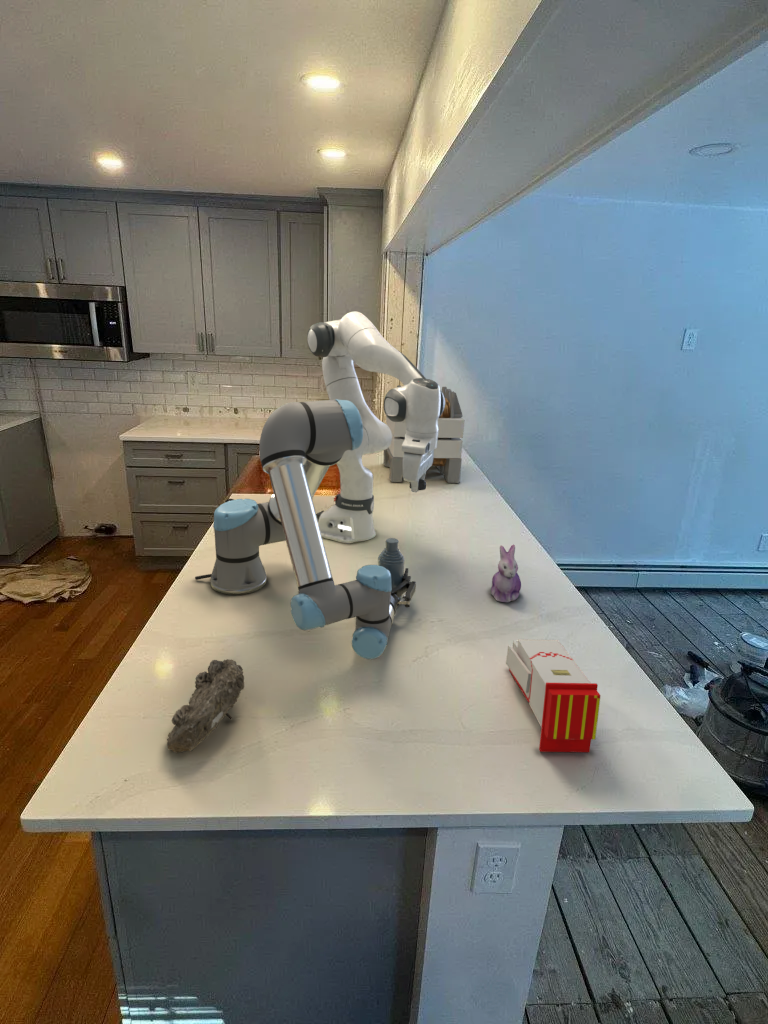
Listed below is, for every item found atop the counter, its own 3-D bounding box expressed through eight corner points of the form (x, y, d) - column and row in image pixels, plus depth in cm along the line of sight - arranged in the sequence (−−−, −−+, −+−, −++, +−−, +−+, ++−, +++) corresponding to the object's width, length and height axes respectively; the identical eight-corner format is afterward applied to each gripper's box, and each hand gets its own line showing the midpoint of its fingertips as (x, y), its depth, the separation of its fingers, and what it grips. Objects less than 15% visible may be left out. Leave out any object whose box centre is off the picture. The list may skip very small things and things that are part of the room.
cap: (429, 488, 159) (429, 481, 159) (419, 491, 156) (420, 485, 155) (415, 484, 162) (416, 477, 161) (406, 487, 158) (406, 481, 158)
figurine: (503, 606, 153) (510, 556, 148) (480, 590, 162) (486, 542, 156) (530, 600, 157) (537, 550, 152) (507, 584, 166) (513, 537, 161)
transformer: (382, 463, 289) (386, 382, 275) (445, 464, 293) (451, 384, 279) (390, 482, 257) (394, 392, 243) (460, 483, 261) (468, 394, 247)
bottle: (402, 606, 151) (405, 546, 145) (375, 605, 151) (378, 544, 145) (401, 594, 158) (405, 535, 152) (376, 592, 158) (379, 534, 152)
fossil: (192, 660, 117) (244, 628, 112) (224, 691, 120) (276, 661, 115) (142, 746, 98) (202, 712, 93) (182, 779, 101) (242, 748, 96)
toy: (554, 622, 128) (610, 691, 98) (548, 677, 130) (601, 759, 101) (501, 621, 127) (541, 690, 98) (496, 676, 130) (534, 758, 101)
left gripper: (338, 620, 138) (356, 579, 160) (419, 630, 136) (427, 587, 157) (338, 593, 136) (357, 554, 157) (421, 602, 133) (429, 562, 154)
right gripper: (419, 431, 164) (415, 477, 169) (399, 446, 146) (396, 497, 151) (440, 434, 163) (436, 480, 167) (423, 450, 144) (419, 501, 149)
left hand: (392, 571), depth 157 cm, fingers closed on bottle, 7 cm apart
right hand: (417, 488), depth 159 cm, fingers closed on cap, 4 cm apart
